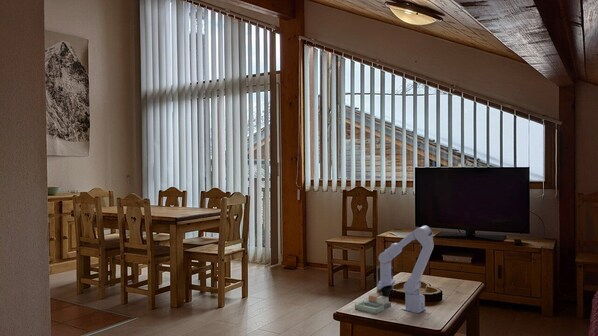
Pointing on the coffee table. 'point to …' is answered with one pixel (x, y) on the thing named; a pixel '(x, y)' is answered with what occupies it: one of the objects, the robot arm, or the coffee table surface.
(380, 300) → the cream tile
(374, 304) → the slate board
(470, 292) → the coffee table surface
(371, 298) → the terracotta tile
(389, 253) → the robot arm
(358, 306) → the green tray
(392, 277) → the coffee box
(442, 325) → the coffee table surface
